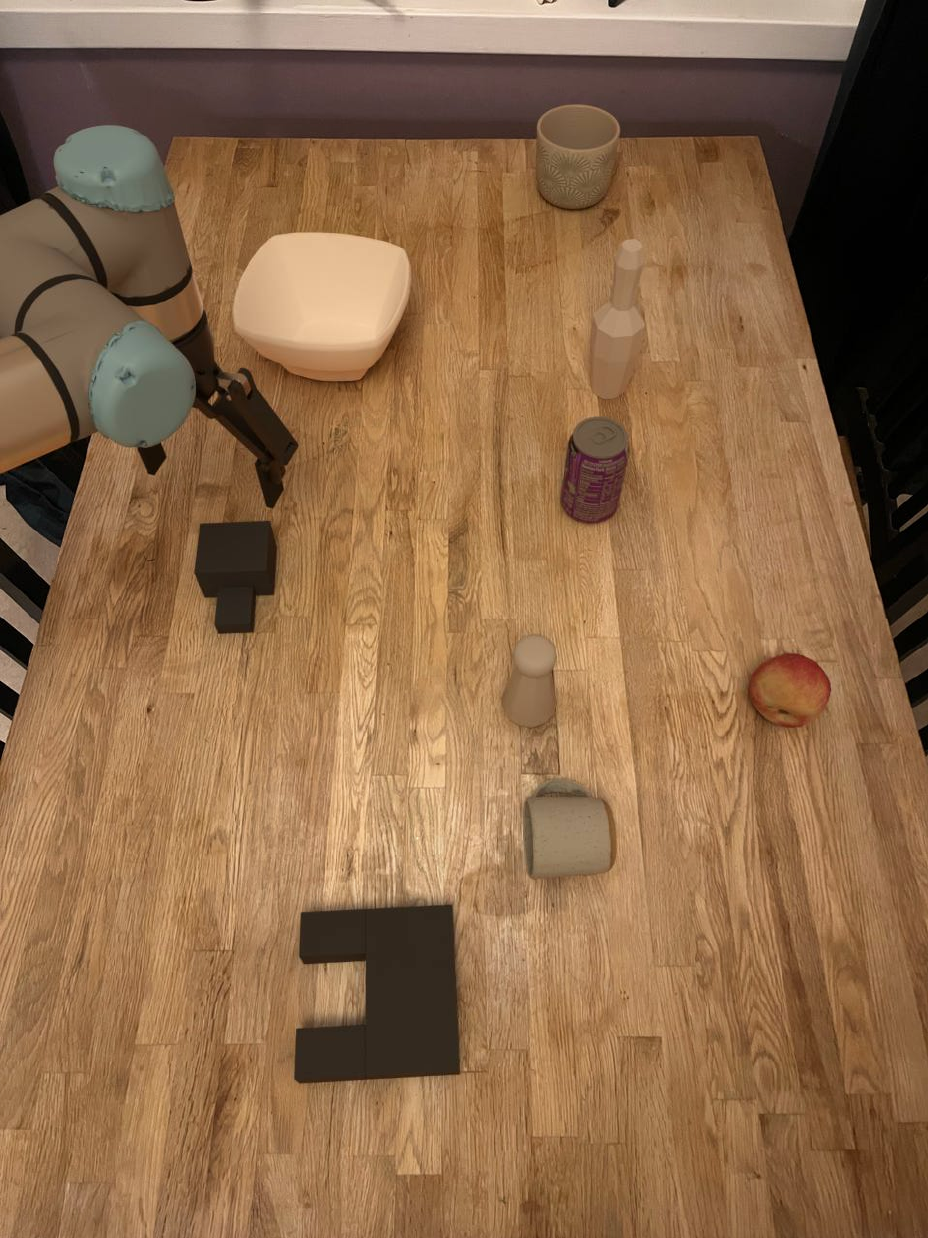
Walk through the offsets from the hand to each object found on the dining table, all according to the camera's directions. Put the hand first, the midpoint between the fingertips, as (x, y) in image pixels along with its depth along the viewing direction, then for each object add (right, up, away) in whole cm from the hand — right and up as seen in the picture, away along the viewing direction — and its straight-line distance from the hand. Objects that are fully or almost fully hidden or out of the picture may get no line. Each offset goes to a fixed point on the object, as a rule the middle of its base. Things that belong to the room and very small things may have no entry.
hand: (215, 481), depth 99 cm
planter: (+43, +53, +52) cm, 86 cm away
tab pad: (0, -11, +11) cm, 16 cm away
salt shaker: (+33, -24, +3) cm, 41 cm away
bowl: (+8, +22, +33) cm, 40 cm away
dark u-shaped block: (+18, -48, -12) cm, 53 cm away
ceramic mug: (+35, -36, -4) cm, 51 cm away
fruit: (+60, -24, +3) cm, 64 cm away
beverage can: (+41, 0, +18) cm, 45 cm away
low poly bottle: (+45, +17, +29) cm, 56 cm away
